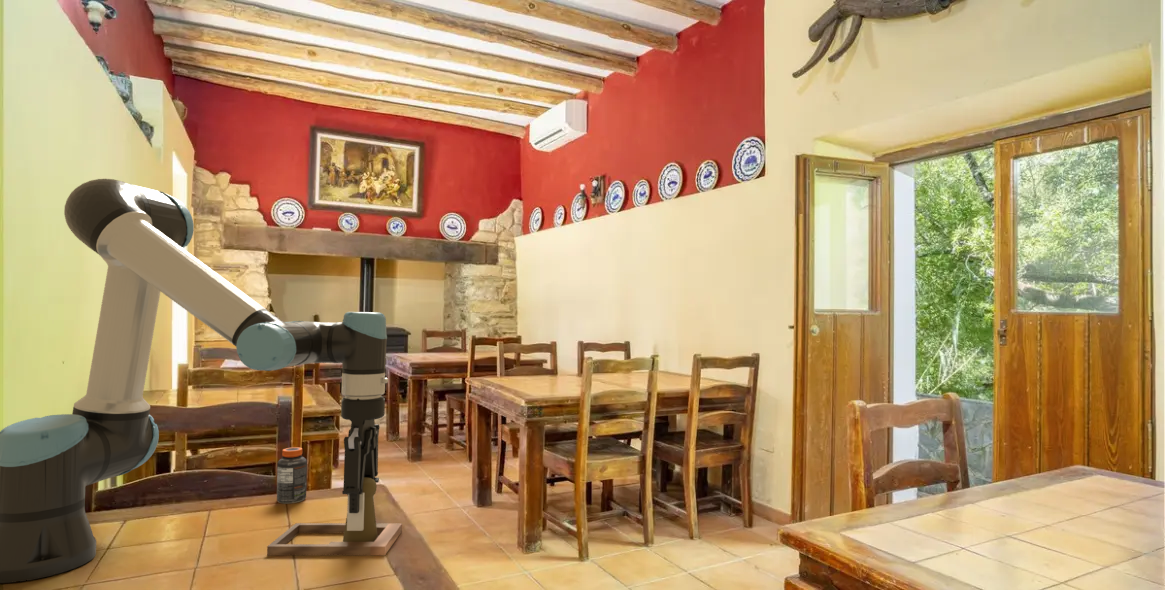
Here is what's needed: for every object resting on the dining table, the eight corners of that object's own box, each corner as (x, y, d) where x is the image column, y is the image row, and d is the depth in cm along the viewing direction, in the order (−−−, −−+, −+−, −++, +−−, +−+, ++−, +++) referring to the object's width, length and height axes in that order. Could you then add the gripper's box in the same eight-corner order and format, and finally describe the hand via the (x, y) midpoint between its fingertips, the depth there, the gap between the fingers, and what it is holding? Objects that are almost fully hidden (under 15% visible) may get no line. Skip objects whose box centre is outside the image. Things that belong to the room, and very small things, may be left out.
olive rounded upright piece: (366, 547, 113) (368, 484, 113) (335, 543, 114) (337, 481, 114) (383, 535, 119) (385, 475, 119) (354, 532, 120) (355, 473, 120)
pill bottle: (301, 494, 146) (302, 444, 146) (309, 500, 141) (310, 449, 141) (273, 499, 142) (274, 447, 142) (280, 505, 137) (282, 452, 138)
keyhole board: (267, 555, 110) (267, 546, 110) (295, 531, 122) (295, 523, 122) (384, 555, 111) (385, 546, 111) (401, 531, 123) (402, 523, 123)
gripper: (369, 403, 108) (366, 542, 108) (396, 390, 126) (394, 509, 126) (324, 403, 108) (320, 542, 107) (358, 389, 126) (355, 508, 125)
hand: (360, 524), depth 117 cm, fingers closed on olive rounded upright piece, 5 cm apart
